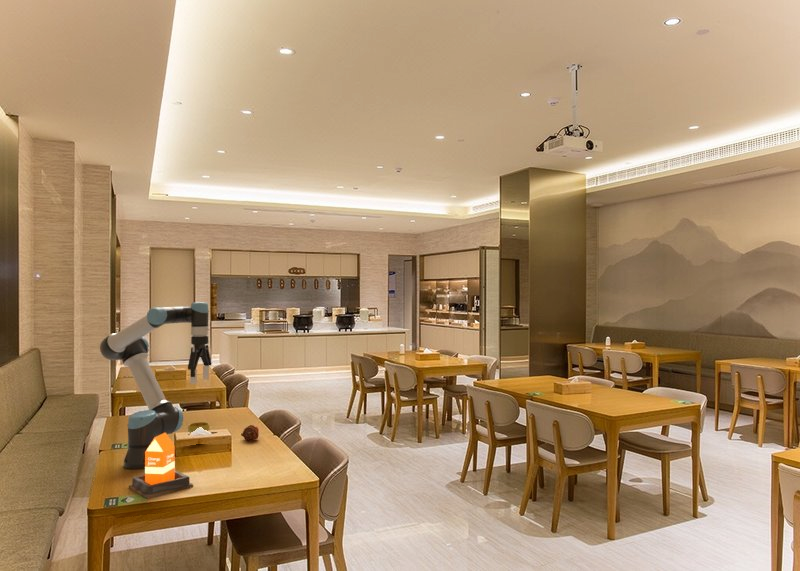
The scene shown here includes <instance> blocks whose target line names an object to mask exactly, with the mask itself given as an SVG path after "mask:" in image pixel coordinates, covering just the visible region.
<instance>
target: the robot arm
mask: <svg viewBox="0 0 800 571" xmlns="http://www.w3.org/2000/svg"><path fill="white" fill-rule="evenodd" d="M209 312H210V310H209V304H208V303H207V302H206V301H205V302H192V303H191V305H190V306H182V305H181V306H157V307H152V308H150V309H148V311H147V314H145V316H143V317H142V318H140V319H138V320H137V321H135V322H133V323H132V324H130V325H128V326H127V327H124V329H122V330H120V331H118V332H117V333H116V332H115V333H111V334H109V335H107V336H105V338H103V340H102V341H101V342H100V345H99V352H100V354H101V356H103V358H105V359H107V360H109V361H122V363H123V365H124V367H128V369H129V370H130V372H131V375H132V377H133V379H134V381H135V383H136V384H137V388H138V389H139V391H140V393H141V396H142V397H143V400H144V402H145V404H146V406H147V408H148V409H146V410H145V409H144V410H140V411H136V412H134V413H132V414H131V415H129V417H128V418H127V420H128V421H127V451H126V454H125V456H124V460H123V468H125V469H129V470H140V469H145V451H146V450H147V449H148V447H149V446H150V444H151V442H152V441H153V439H154V438H155V437H157V436H159V435H161V434H163V433H166V434H167V435H171V434H173V433H176V432H177V431H179V430H180V429H181V427H182V426H183V424H184V423H183V422H184V414H183V411H182V410H181V409H180V407H177V406H174V404H172V401H170V400H167V398H166V396H165V394H164V392H163V390H162V389H161V386H160V384H159V382H158V380H157V378H156V376H155V374H154V372H153V369H152V367H151V366H150V364H149V362H148V356H149V354H148V353H149V350H150V349H149V348H150V346H149V342H148V340H147V339H146V338H145V336H147V335H148V334H151V333H152V332H153V331H155V330H157V329H158V328H160V327H162V326H164V325H167V324H169V325H170V324H182V323H184V324H185V323H186V324H187V323H190V328H191V329H190V335H191V337H190V338H191V339H190V341H191V342H190V343H191V345H192V346H194V347H192V346H191V347H190V355H189V360H188V364H187V370H189V371H190V374H189V376H190V378H189V379H190V380H189V381H190V382H189V384H190V385H198V370H197V366H198V364H199V361H200V358H201V361H202V364H203V365H202V380H203V381H205V380H208V381H209V380H210V366H212V358H211V354H210V351H209V349H210V347H209V331H210V328H209Z"/></svg>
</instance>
